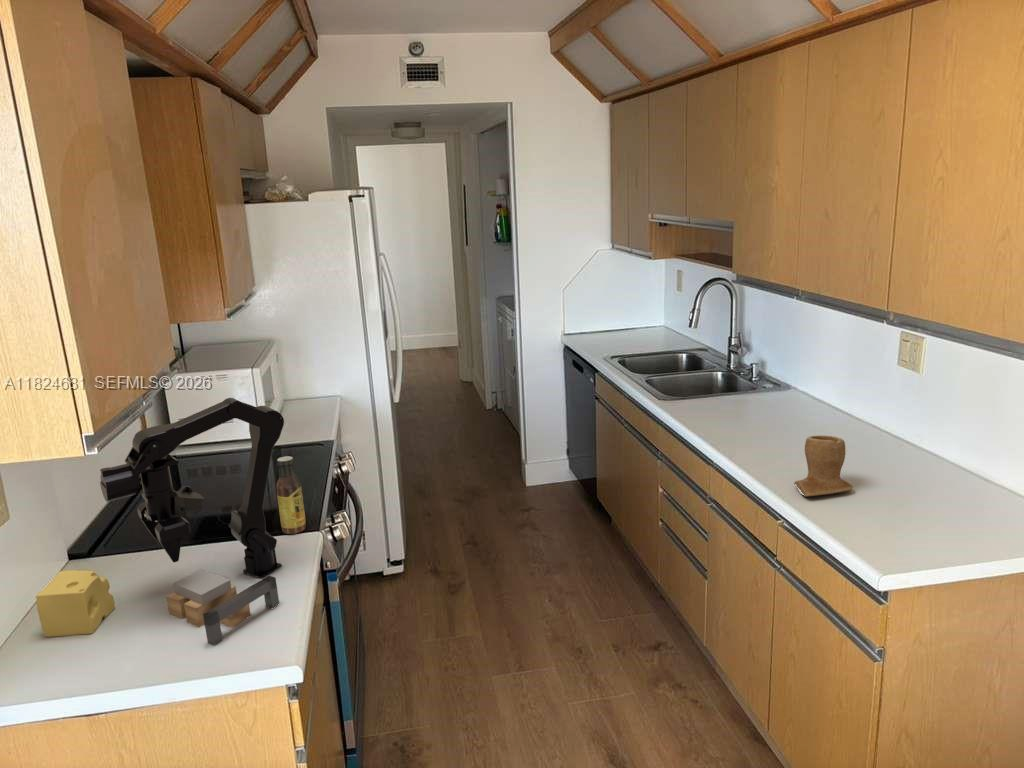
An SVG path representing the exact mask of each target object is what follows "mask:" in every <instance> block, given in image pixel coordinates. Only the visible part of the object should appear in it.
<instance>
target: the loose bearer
mask: <svg viewBox="0 0 1024 768" xmlns="http://www.w3.org/2000/svg"><path fill="white" fill-rule="evenodd" d="M250 609H251V608H250V603H249V604H248V605H246V606H244V607H243V608H241V609H239V610H238V611H236V612H234V613H233V614H231V615H229V616H228V617H226V618H225V619H223V620H221V621H220V625H223V626H227V627H229V628H233V627H235V626H237V625H239V623H242V622H244V621H245V620H247V617H248V618H249V617H251V616H252V613H251V610H250ZM244 619H245V620H244Z"/></svg>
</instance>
